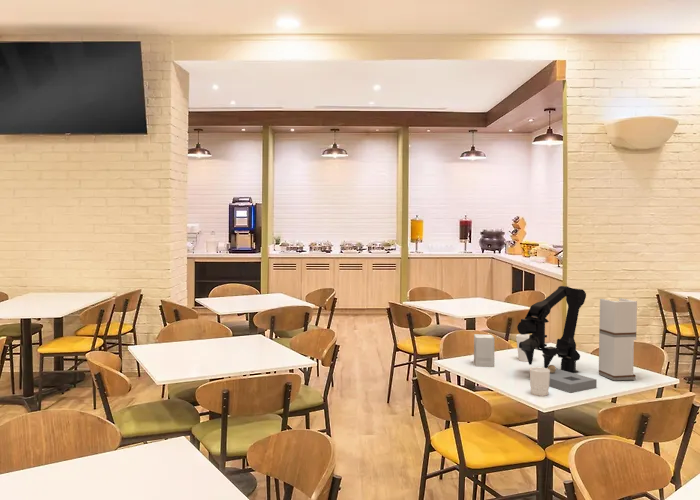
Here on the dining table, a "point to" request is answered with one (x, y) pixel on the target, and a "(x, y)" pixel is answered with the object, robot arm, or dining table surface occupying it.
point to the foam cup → (521, 353)
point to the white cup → (539, 381)
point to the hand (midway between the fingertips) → (537, 366)
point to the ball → (552, 368)
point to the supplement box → (483, 350)
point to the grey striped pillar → (617, 338)
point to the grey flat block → (570, 381)
